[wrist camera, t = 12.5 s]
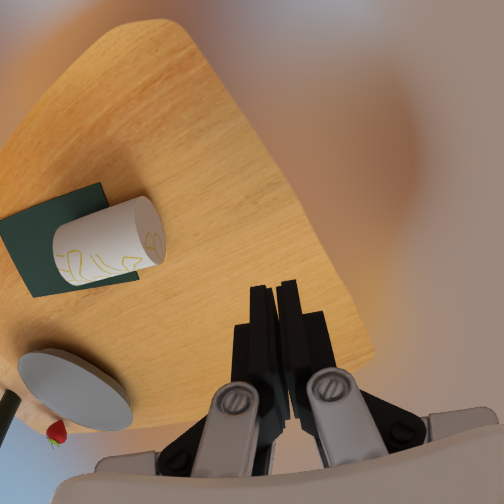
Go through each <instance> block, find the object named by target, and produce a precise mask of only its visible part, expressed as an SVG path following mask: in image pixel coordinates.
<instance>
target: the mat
mask: <svg viewBox="0 0 504 504" xmlns="http://www.w3.org/2000/svg"><path fill="white" fill-rule="evenodd" d="M106 208H109V205H108V202H107V199H106V197H105V194H104V191H103V188H102V186H101V183H100V182H99V183H96V184H93V185H90V186H87V187H84V188H81V189H79V190H76V191H73V192H70V193H67V194H65V195H62V196H59V197H57V198H54V199H51V200H49V201H46V202H44V203H41V204H39V205H36V206H34V207H31V208H29V209H26V210H24V211H22V212H19V213H17V214H15V215H12V216H10V217H8V218H5V219H3V220H1V221H0V236H1V238H2V240H3V242H4V244H5V246H6V248H7V250H8V252H9V254H10V256H11V258H12V260H13V262H14V264H15V266H16V268H17V270H18V272H19V273H20V275H21V277H22V279H23V281H24V283H25V284H26V286H27V288H28V290H29V291H30V293H31V295H32V296H33V298H35V297H41V296H47V295H53V294H59V293H65V292H71V291H77V290H83V289H89V288H95V287H100V286H106V285H112V284H118V283H124V282H130V281H136V280H139V277H138V275H137V272H136V271H132V272H128V273H124V274H120V275H117V276H113V277H109V278H105V279H101V280H98V281H94V282H90V283H86V284H82V285H78V286H76V285H72V284H70V283H69V282H67V281H66V280H65V279H64V278H63V276H62V275H61V273H60V272H59V270H58V268H57V266H56V263H55V259H54V255H53V239H54V235H55V232H56V231H57V229H58V228H59V227H60V226H62V225H64V224H66V223H69V222H71V221H74V220H77V219H79V218H82V217H84V216H87V215H90V214H92V213H95V212H98V211H100V210H103V209H106Z"/></svg>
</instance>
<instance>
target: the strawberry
mask: <svg viewBox="0 0 504 504" xmlns="http://www.w3.org/2000/svg"><path fill="white" fill-rule="evenodd" d="M46 434H47V437H48V438H47V439H49V440H50V441H49V442H51V443H53V442H54V444H56V445H57V446H59V445H58V444H61V443H64V442H65V441H66V439H67V432H66V429H65V426H64V423H63V421H62V420H59V421H57V422H55V423H53V424H52V425H50V426H49V428H48V429H47V432H46Z"/></svg>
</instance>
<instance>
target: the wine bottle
mask: <svg viewBox="0 0 504 504" xmlns="http://www.w3.org/2000/svg"><path fill="white" fill-rule="evenodd" d="M20 403H21V399H20V398H19V397H18V396H17V395H16V394H15V393H14V392H12V391H10V390H6V391H5V393H4V395H3V397H2V399H1V401H0V447H1V445H2V442H3V440H4V438H5V435H6V433H7V431H8V428H9V426H10V424H11V422H12V420H13V417H14V415H15V413H16V411H17V409H18V407H19V405H20Z"/></svg>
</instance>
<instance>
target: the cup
mask: <svg viewBox="0 0 504 504" xmlns="http://www.w3.org/2000/svg"><path fill="white" fill-rule="evenodd" d="M165 251H166V246H165V236H164V231H163V227H162V224H161V221H160V218H159V215H158V213H157V211H156V209H155V207H154V205H153V204H152V202H151V201H150V200H149V199H148V198H147V197H145V196H140V197H137V198H134V199H132V200H129V201H126V202H123V203H120V204H117V205H114V206H112V207H109V208H106V209H103V210H100V211H98V212H95V213H92V214H90V215H87V216H84V217H82V218H79V219H77V220H74V221H71V222H69V223H66V224H64V225H62V226H60V227H59V228H58V229H57V231H56V232H55V235H54V239H53V255H54V259H55V263H56V266H57V268H58V270H59V272H60V273H61V275H62V276H63V278H64V279H65V280H66V281H67V282H69V283H70V284H72V285H76V286H78V285H82V284H86V283H90V282H94V281H98V280H101V279H105V278H109V277H113V276H117V275H120V274H124V273H128V272H132V271H136V270H140V269H143V268H147V267H151V266H155V265H159V264H161V263H162V262H163V261H164V258H165Z"/></svg>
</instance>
